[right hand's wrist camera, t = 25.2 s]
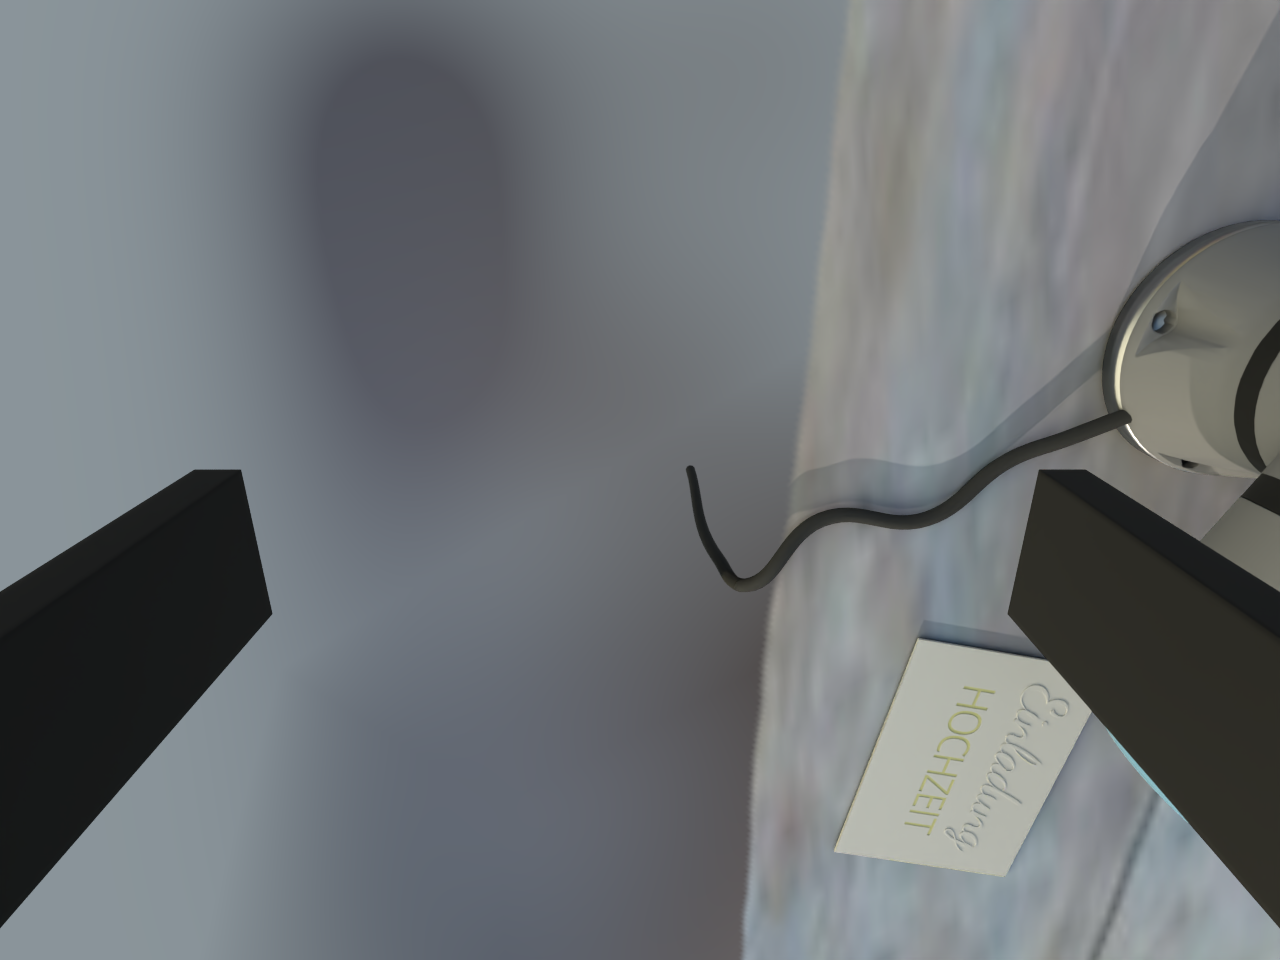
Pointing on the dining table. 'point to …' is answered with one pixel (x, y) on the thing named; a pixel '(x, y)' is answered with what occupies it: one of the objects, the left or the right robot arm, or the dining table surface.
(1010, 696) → the invitation card
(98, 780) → the right robot arm
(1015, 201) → the dining table surface
